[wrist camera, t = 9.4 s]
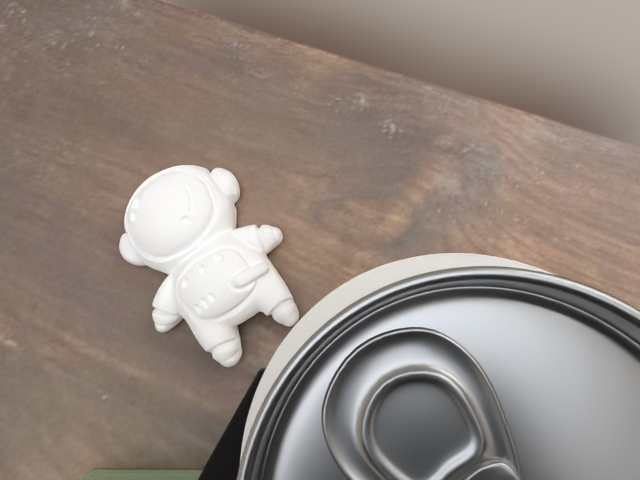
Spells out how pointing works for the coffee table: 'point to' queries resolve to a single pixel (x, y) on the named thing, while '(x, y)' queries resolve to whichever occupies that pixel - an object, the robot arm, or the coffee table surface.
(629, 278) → the coffee table surface
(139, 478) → the tray
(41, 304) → the coffee table surface
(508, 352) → the can
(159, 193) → the astronaut figurine
